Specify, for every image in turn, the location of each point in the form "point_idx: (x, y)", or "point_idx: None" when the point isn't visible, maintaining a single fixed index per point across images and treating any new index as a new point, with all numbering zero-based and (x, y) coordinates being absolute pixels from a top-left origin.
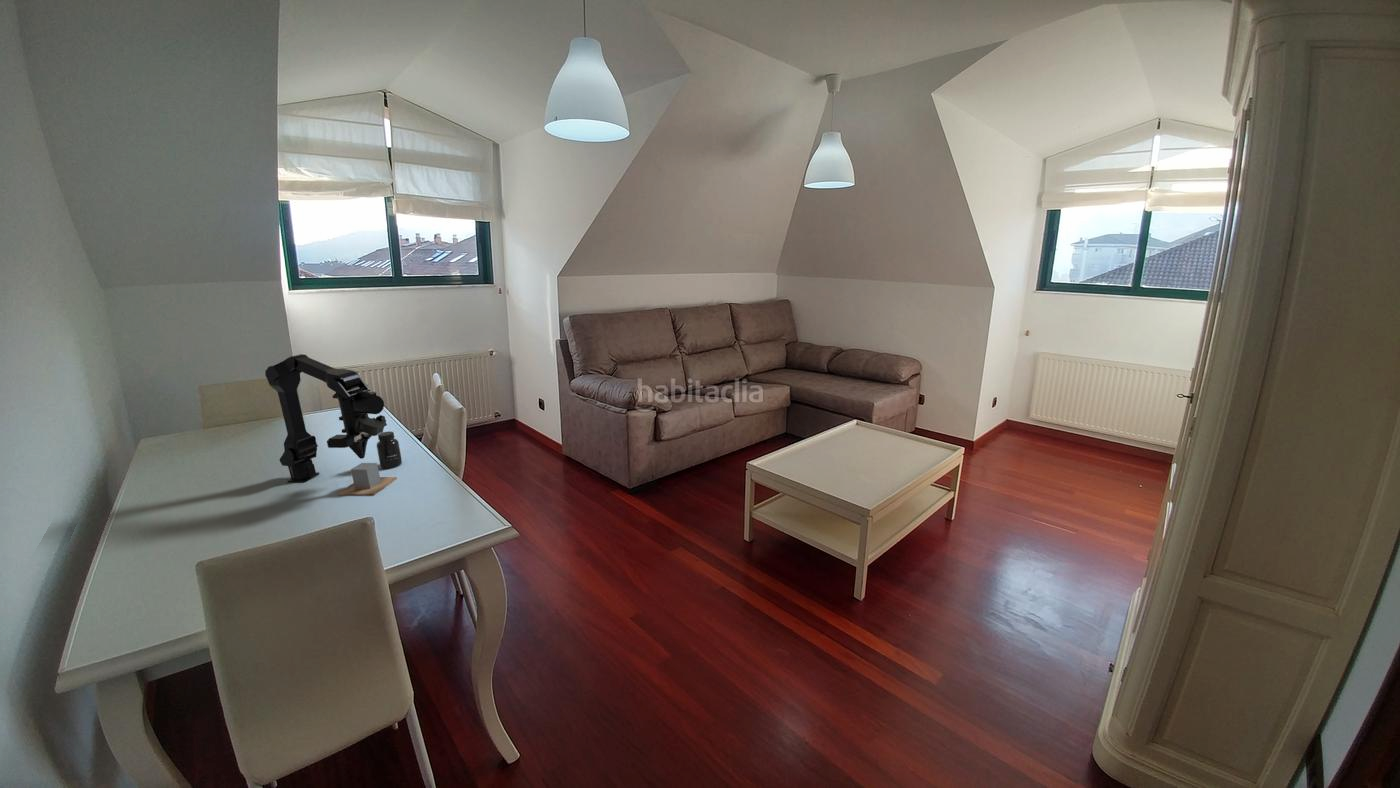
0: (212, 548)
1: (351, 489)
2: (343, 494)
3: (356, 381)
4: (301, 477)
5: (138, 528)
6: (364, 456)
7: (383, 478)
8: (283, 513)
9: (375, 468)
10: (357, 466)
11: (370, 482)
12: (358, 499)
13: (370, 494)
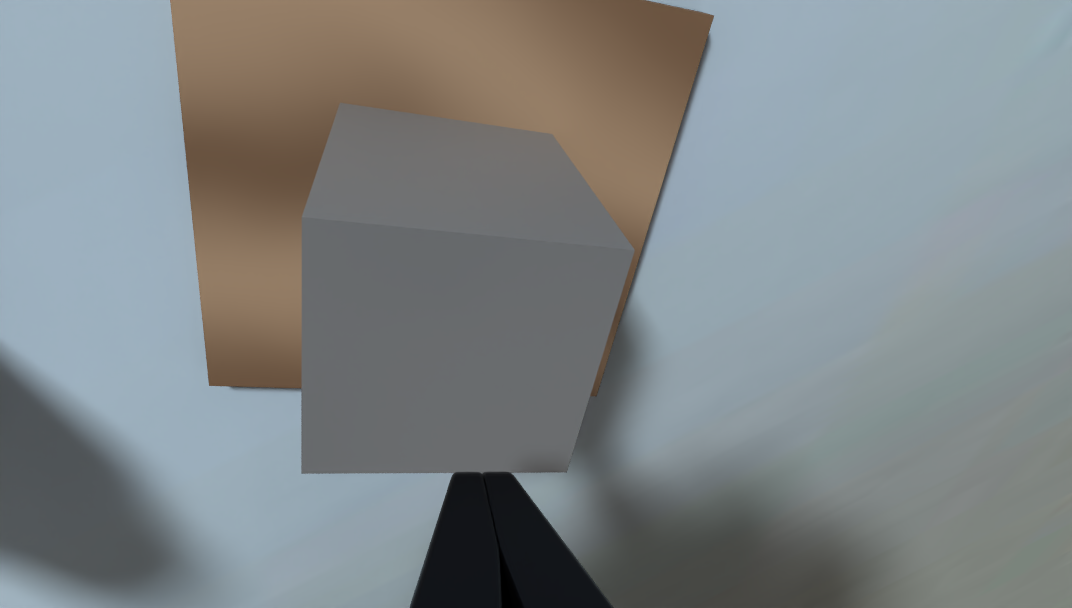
0: (1039, 559)
1: None
2: (609, 342)
3: None
4: None
5: None
6: (461, 486)
7: (232, 115)
8: (788, 525)
9: (389, 189)
10: (456, 452)
11: (543, 155)
12: (749, 150)
13: (695, 61)
